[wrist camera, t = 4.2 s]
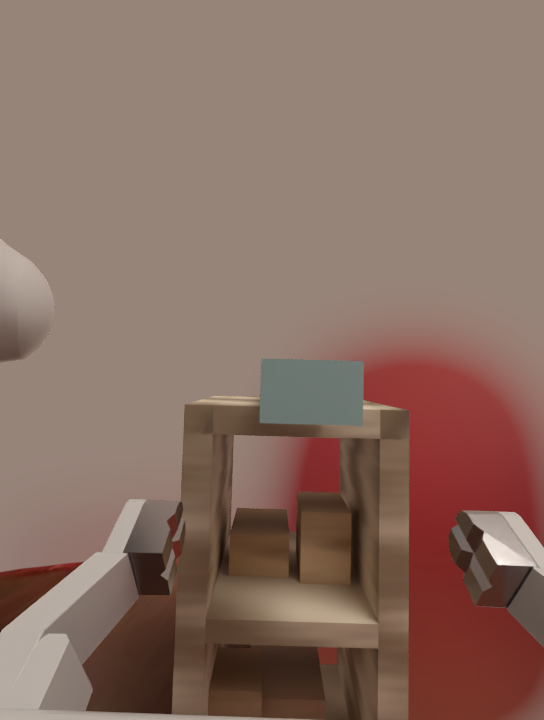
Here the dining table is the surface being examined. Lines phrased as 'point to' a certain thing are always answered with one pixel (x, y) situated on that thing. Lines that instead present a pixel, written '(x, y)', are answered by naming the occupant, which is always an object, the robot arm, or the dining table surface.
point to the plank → (311, 392)
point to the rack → (294, 576)
